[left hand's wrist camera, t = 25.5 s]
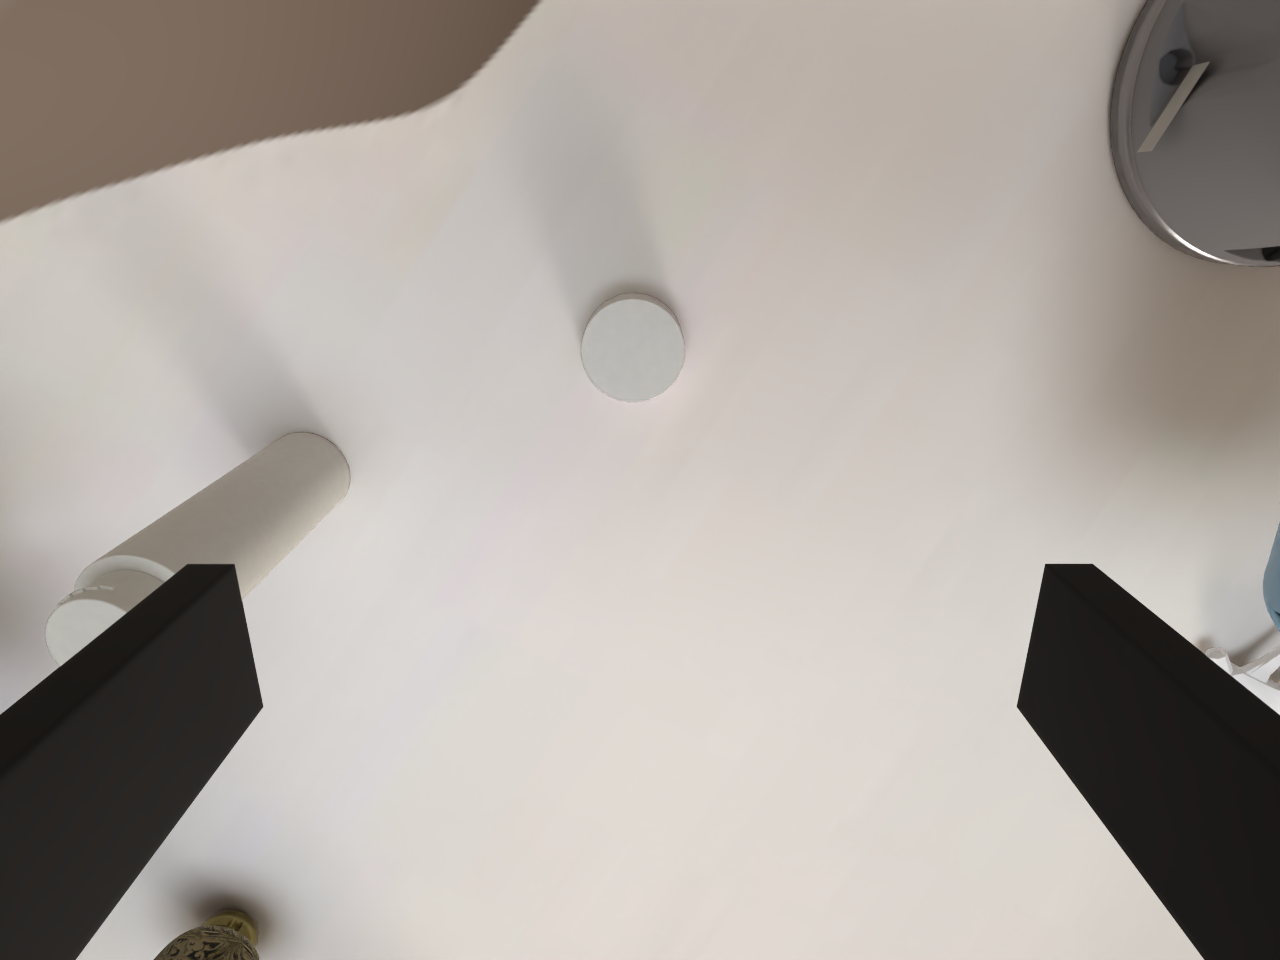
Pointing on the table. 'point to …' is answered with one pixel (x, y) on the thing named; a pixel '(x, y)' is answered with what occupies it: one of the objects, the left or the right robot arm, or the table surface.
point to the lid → (633, 348)
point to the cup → (216, 939)
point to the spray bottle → (1253, 674)
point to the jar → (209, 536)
